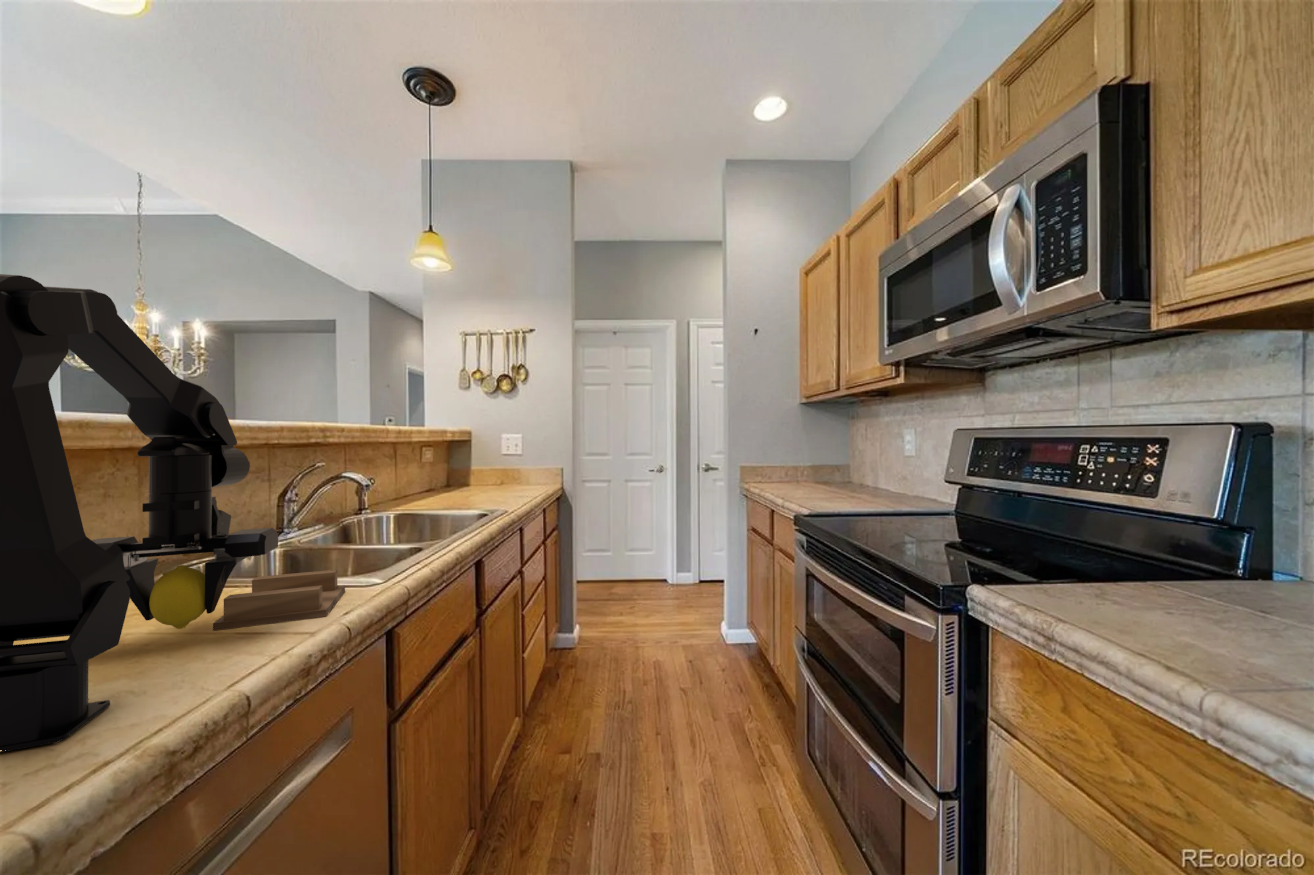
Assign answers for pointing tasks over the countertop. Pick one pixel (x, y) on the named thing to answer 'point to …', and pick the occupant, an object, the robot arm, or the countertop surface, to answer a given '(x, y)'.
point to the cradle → (282, 599)
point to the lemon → (178, 597)
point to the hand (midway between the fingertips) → (181, 615)
